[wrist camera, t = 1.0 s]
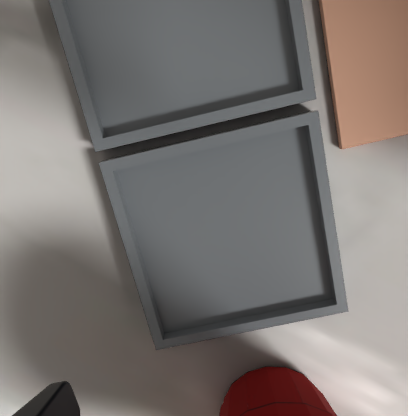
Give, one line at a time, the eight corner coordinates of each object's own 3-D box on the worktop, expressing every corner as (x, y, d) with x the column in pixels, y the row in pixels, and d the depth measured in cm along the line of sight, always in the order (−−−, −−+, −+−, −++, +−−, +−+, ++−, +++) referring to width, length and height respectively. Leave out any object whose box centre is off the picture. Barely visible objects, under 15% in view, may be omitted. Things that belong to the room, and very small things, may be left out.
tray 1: (269, -160, 14) (274, -179, 13) (310, 99, 17) (316, 98, 16) (29, -91, 15) (16, -105, 14) (101, 149, 17) (95, 151, 16)
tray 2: (311, 110, 17) (318, 110, 16) (341, 301, 19) (348, 311, 18) (104, 159, 18) (98, 162, 17) (158, 338, 20) (156, 350, 19)
